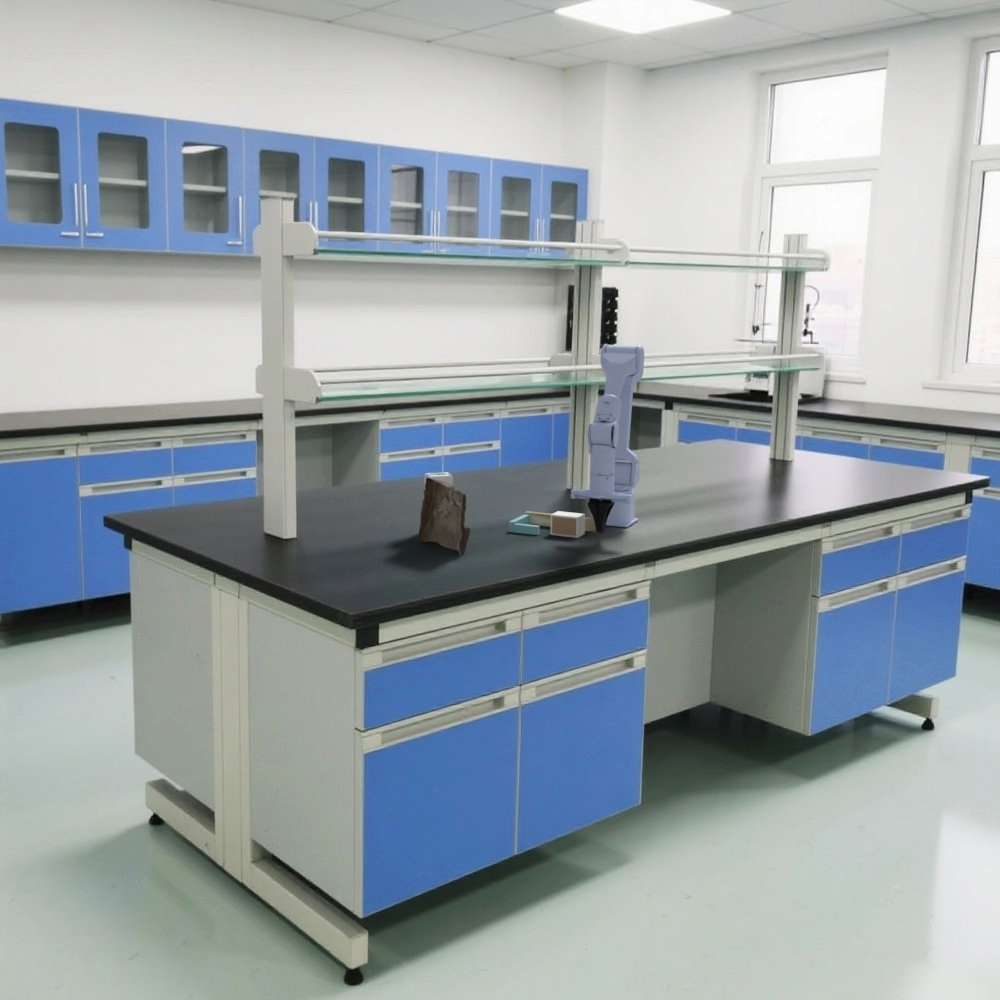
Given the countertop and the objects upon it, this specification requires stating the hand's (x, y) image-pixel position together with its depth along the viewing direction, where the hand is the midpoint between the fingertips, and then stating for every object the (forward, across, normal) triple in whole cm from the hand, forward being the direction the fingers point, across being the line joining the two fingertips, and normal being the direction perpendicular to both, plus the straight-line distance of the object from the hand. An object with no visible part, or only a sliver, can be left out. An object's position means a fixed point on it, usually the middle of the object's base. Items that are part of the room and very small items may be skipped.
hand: (600, 531), depth 258 cm
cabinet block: (+2, -9, +2) cm, 9 cm away
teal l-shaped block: (+2, -18, +2) cm, 19 cm away
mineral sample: (+2, -28, -24) cm, 37 cm away
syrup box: (+2, -36, -12) cm, 38 cm away
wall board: (+2, -12, +8) cm, 15 cm away
